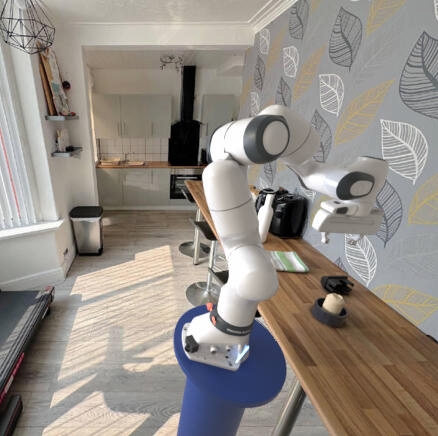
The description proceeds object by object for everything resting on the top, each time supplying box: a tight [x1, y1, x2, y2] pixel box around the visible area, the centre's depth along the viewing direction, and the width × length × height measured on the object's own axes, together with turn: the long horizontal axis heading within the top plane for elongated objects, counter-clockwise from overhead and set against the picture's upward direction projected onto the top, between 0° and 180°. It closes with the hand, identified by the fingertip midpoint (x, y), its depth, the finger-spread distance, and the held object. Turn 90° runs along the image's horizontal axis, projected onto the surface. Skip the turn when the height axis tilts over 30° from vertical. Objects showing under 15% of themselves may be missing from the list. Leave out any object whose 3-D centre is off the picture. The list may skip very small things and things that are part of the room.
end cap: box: [320, 274, 355, 296], centre depth 106 cm, size 10×7×7 cm
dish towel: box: [265, 249, 310, 273], centre depth 126 cm, size 17×23×4 cm
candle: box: [322, 293, 346, 316], centre depth 90 cm, size 6×6×10 cm
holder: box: [311, 297, 349, 328], centre depth 91 cm, size 10×10×5 cm
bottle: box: [257, 193, 275, 244], centre depth 143 cm, size 8×8×30 cm
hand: (338, 243), depth 83 cm, fingers open, 8 cm apart
